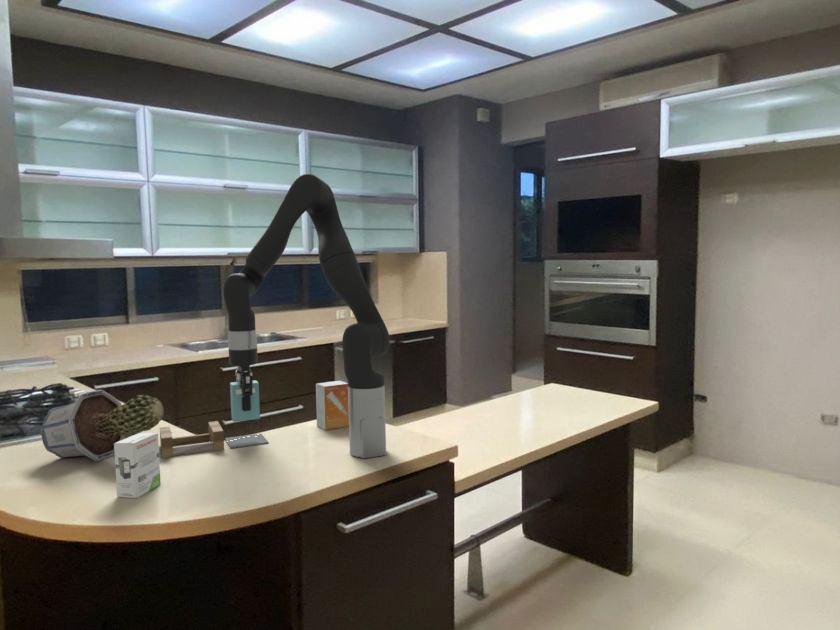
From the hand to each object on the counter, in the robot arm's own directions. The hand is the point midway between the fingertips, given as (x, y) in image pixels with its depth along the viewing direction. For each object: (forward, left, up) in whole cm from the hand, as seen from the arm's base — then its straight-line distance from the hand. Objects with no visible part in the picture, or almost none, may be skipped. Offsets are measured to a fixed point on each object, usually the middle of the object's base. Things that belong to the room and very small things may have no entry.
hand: (245, 408), depth 169 cm
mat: (0, 0, -9) cm, 9 cm away
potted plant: (+2, +34, -9) cm, 35 cm away
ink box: (-28, +27, -9) cm, 40 cm away
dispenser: (+1, +14, -9) cm, 17 cm away
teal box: (0, 0, -3) cm, 3 cm away
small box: (+4, -26, -9) cm, 28 cm away
